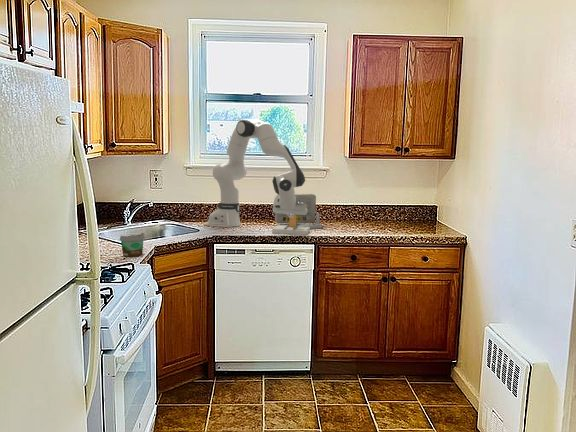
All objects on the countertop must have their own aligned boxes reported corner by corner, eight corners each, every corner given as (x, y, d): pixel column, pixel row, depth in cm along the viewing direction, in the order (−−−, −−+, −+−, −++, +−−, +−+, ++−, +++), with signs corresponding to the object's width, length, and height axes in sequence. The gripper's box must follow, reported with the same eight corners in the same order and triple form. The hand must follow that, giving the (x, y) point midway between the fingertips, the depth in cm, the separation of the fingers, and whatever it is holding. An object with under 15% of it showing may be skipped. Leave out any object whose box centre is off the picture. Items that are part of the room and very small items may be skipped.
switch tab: (288, 226, 330) (289, 212, 329) (290, 226, 333) (290, 212, 332) (295, 227, 329) (295, 213, 328) (296, 226, 332) (296, 212, 331)
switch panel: (272, 233, 323) (272, 227, 322) (277, 229, 336) (277, 223, 336) (305, 235, 319) (306, 229, 319) (309, 231, 333) (309, 225, 332)
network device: (312, 223, 359) (313, 193, 356) (316, 226, 350) (317, 195, 347) (274, 224, 352) (274, 193, 349) (277, 227, 344) (278, 195, 341)
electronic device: (298, 213, 342) (320, 211, 347) (298, 228, 344) (320, 227, 348) (300, 214, 337) (323, 213, 342) (300, 230, 339) (323, 228, 343)
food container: (127, 259, 250) (127, 237, 249) (120, 257, 254) (119, 235, 253) (150, 255, 259) (150, 234, 258) (143, 253, 263) (142, 232, 262)
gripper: (307, 198, 314) (309, 213, 325) (272, 196, 318) (275, 211, 329) (305, 207, 311) (307, 221, 322) (270, 205, 314) (273, 219, 325)
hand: (291, 216), depth 325 cm, fingers closed
